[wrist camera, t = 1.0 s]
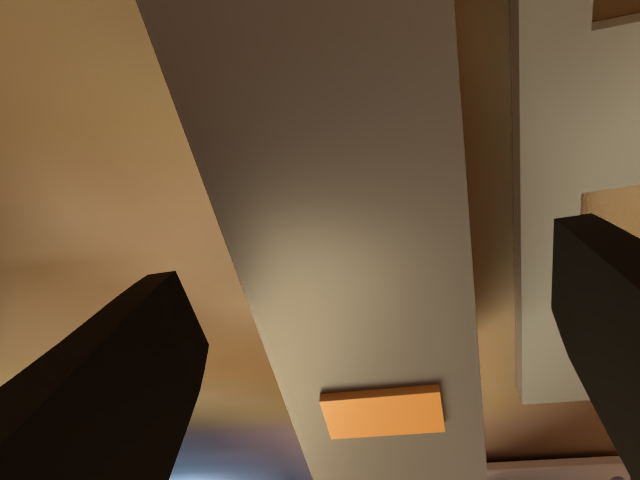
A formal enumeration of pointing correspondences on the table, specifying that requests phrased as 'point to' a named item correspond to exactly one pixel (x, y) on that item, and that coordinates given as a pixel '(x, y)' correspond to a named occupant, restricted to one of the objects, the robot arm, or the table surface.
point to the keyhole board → (564, 158)
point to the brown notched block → (342, 216)
